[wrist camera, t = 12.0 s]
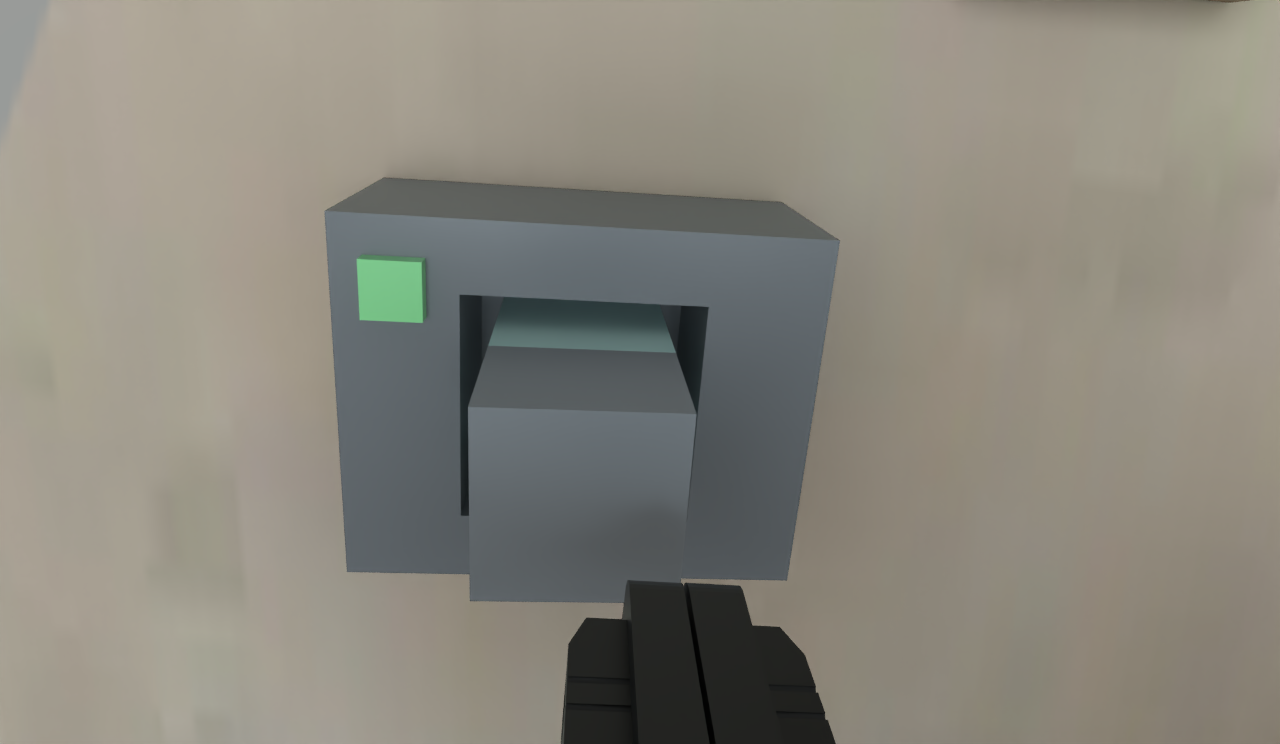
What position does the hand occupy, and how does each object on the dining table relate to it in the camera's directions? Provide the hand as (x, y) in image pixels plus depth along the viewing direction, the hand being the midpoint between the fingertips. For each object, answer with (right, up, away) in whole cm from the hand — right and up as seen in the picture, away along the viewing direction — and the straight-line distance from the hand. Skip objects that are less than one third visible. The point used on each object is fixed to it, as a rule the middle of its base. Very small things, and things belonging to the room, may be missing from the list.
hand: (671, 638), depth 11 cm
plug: (-2, +4, +10) cm, 11 cm away
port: (-2, +4, +11) cm, 12 cm away
